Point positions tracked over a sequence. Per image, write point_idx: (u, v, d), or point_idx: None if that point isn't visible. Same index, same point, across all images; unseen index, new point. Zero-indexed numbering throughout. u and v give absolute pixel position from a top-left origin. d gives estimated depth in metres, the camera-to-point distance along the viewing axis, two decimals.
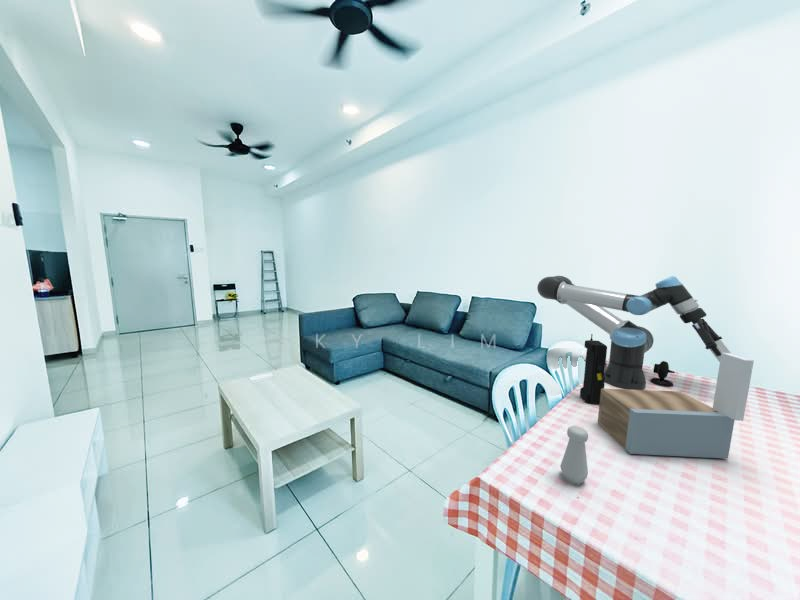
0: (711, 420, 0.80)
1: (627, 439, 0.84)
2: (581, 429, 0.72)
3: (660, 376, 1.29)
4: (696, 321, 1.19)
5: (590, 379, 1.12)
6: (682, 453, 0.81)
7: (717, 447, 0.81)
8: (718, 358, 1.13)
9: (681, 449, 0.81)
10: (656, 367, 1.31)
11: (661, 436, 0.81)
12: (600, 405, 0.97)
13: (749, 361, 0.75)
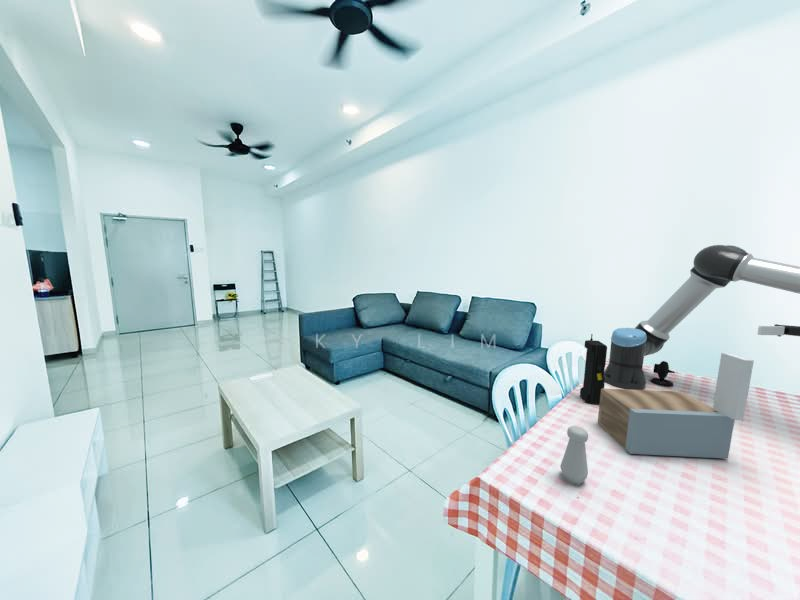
0: (711, 420, 0.80)
1: (627, 439, 0.84)
2: (581, 429, 0.72)
3: (660, 376, 1.29)
4: None
5: (590, 379, 1.12)
6: (682, 453, 0.81)
7: (717, 447, 0.81)
8: None
9: (681, 449, 0.81)
10: (656, 367, 1.31)
11: (661, 436, 0.81)
12: (600, 405, 0.97)
13: (749, 361, 0.75)
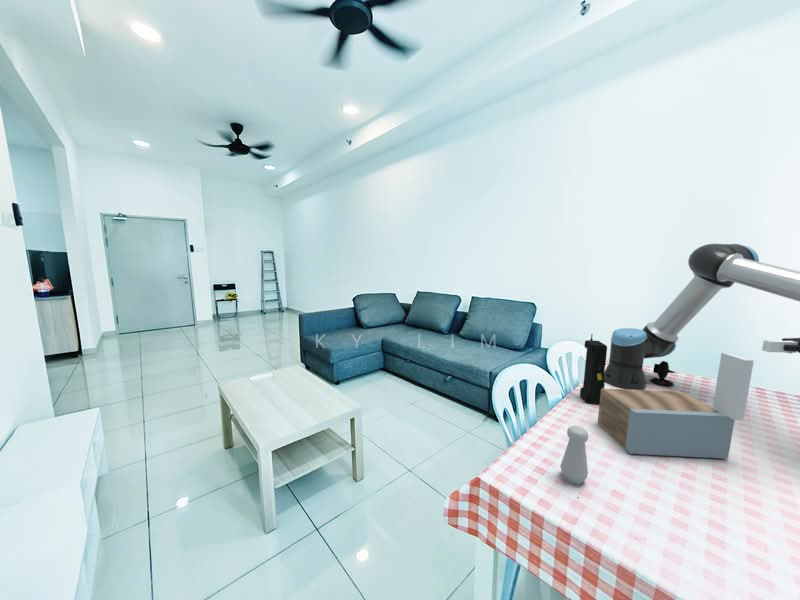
0: (711, 420, 0.80)
1: (627, 439, 0.84)
2: (581, 429, 0.72)
3: (660, 376, 1.29)
4: None
5: (590, 379, 1.12)
6: (682, 453, 0.81)
7: (717, 447, 0.81)
8: (780, 343, 0.76)
9: (681, 449, 0.81)
10: (656, 367, 1.31)
11: (661, 436, 0.81)
12: (600, 405, 0.97)
13: (749, 361, 0.75)
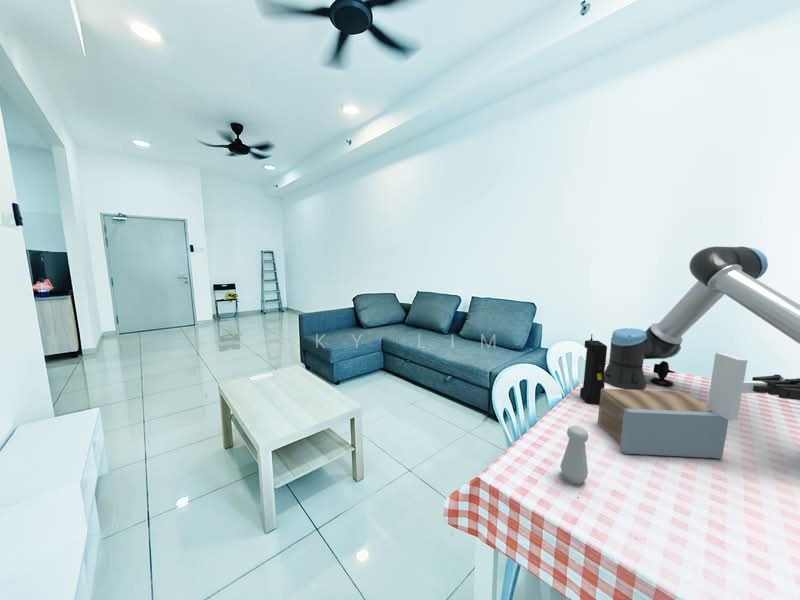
0: (705, 420, 0.80)
1: (621, 439, 0.84)
2: (581, 429, 0.72)
3: (660, 376, 1.29)
4: None
5: (590, 379, 1.12)
6: (677, 453, 0.82)
7: (711, 447, 0.81)
8: (749, 384, 0.77)
9: (676, 448, 0.81)
10: (656, 367, 1.31)
11: (655, 436, 0.81)
12: (600, 405, 0.97)
13: (743, 361, 0.75)
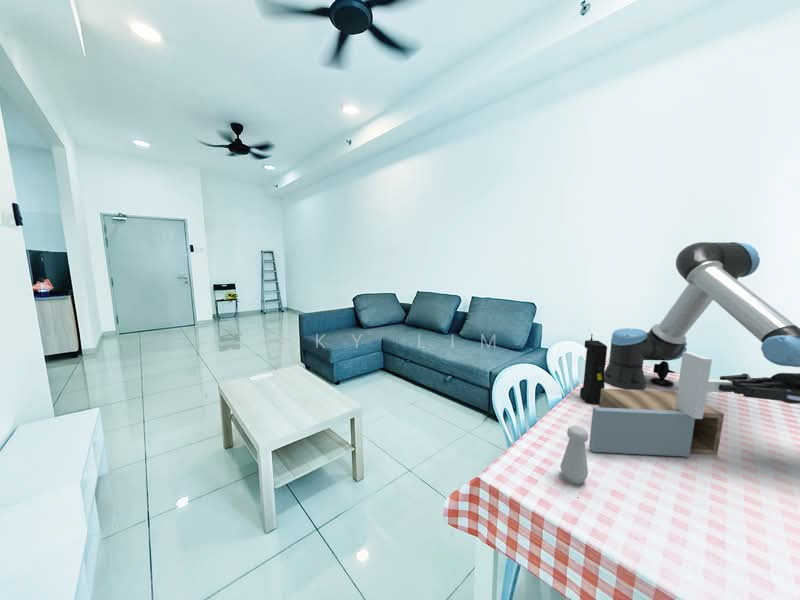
0: (672, 419, 0.80)
1: (590, 437, 0.84)
2: (581, 429, 0.72)
3: (660, 376, 1.29)
4: None
5: (590, 379, 1.12)
6: (644, 451, 0.82)
7: (678, 445, 0.81)
8: (715, 383, 0.77)
9: (643, 447, 0.82)
10: (656, 367, 1.31)
11: (623, 434, 0.82)
12: (600, 405, 0.97)
13: (707, 360, 0.76)
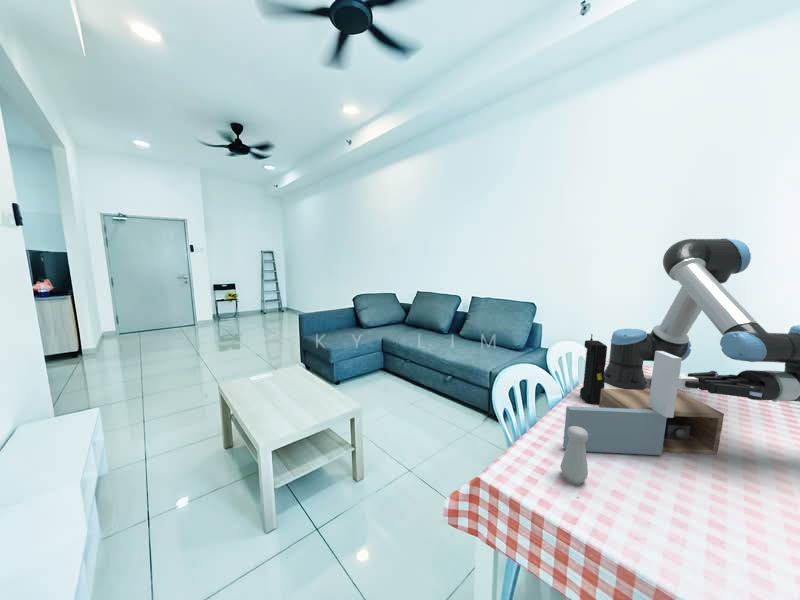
0: (644, 417, 0.81)
1: (564, 436, 0.85)
2: (581, 429, 0.72)
3: None
4: (763, 392, 0.75)
5: (590, 379, 1.12)
6: (617, 450, 0.83)
7: (651, 444, 0.82)
8: (681, 380, 0.79)
9: (616, 445, 0.82)
10: None
11: (596, 433, 0.82)
12: (600, 405, 0.97)
13: (677, 359, 0.76)
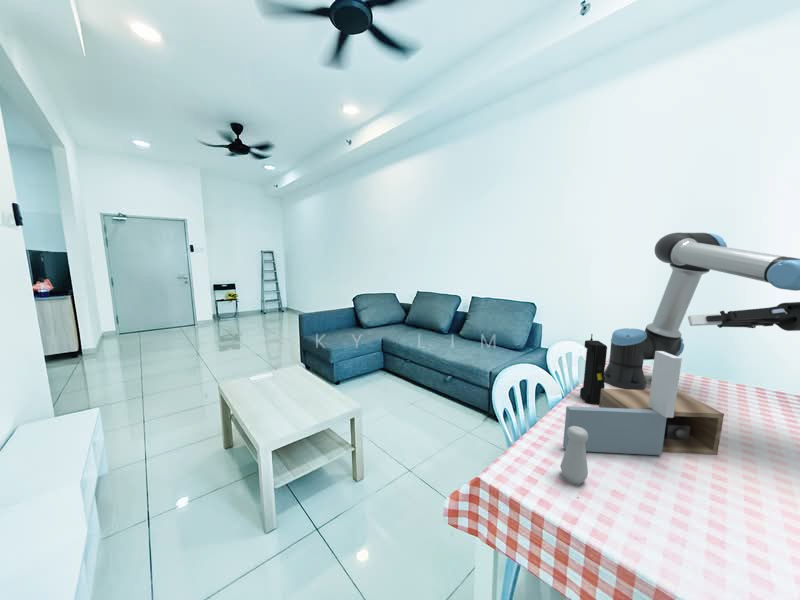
0: (644, 417, 0.81)
1: (564, 436, 0.85)
2: (581, 429, 0.72)
3: None
4: (792, 313, 0.77)
5: (590, 379, 1.12)
6: (617, 450, 0.83)
7: (650, 444, 0.82)
8: (700, 316, 0.86)
9: (616, 445, 0.82)
10: None
11: (596, 433, 0.82)
12: (600, 405, 0.97)
13: (677, 359, 0.76)
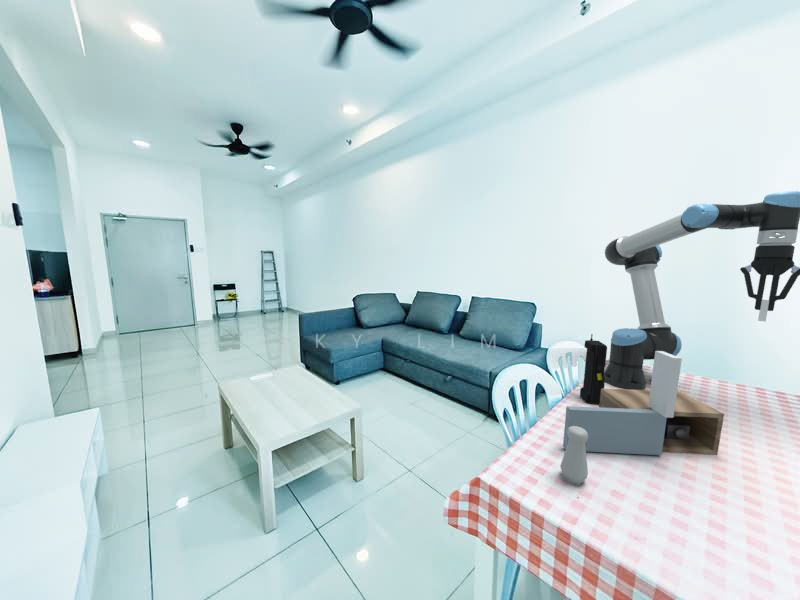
0: (644, 417, 0.81)
1: (564, 436, 0.85)
2: (581, 429, 0.72)
3: None
4: (754, 259, 0.95)
5: (590, 379, 1.12)
6: (617, 450, 0.83)
7: (650, 444, 0.82)
8: (759, 312, 0.96)
9: (616, 445, 0.82)
10: None
11: (596, 433, 0.82)
12: (600, 405, 0.97)
13: (677, 359, 0.76)
